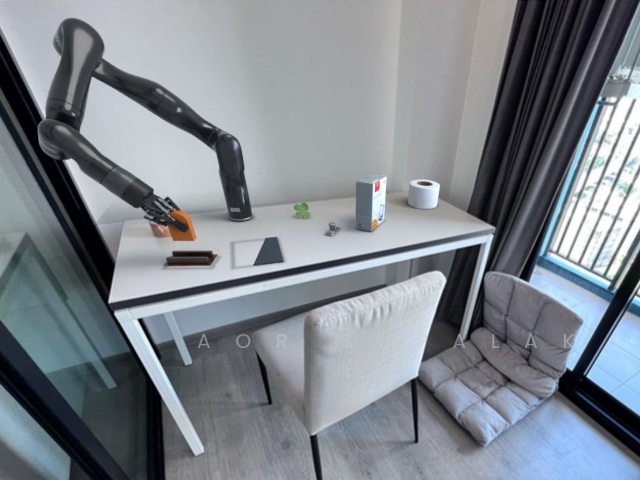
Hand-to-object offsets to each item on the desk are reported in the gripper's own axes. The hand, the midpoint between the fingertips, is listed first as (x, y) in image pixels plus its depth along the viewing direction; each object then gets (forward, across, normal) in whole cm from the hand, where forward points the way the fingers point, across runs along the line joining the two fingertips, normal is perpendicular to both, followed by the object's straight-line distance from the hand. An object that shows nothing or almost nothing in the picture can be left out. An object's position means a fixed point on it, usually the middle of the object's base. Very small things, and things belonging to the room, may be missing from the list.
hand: (188, 228), depth 100 cm
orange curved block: (+1, 0, -4) cm, 4 cm away
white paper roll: (+72, -62, +54) cm, 109 cm away
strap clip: (+39, -26, +22) cm, 51 cm away
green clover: (+30, -43, +12) cm, 54 cm away
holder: (+7, 0, -10) cm, 12 cm away
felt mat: (+20, -8, +3) cm, 22 cm away
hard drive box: (+51, -34, +33) cm, 69 cm away
